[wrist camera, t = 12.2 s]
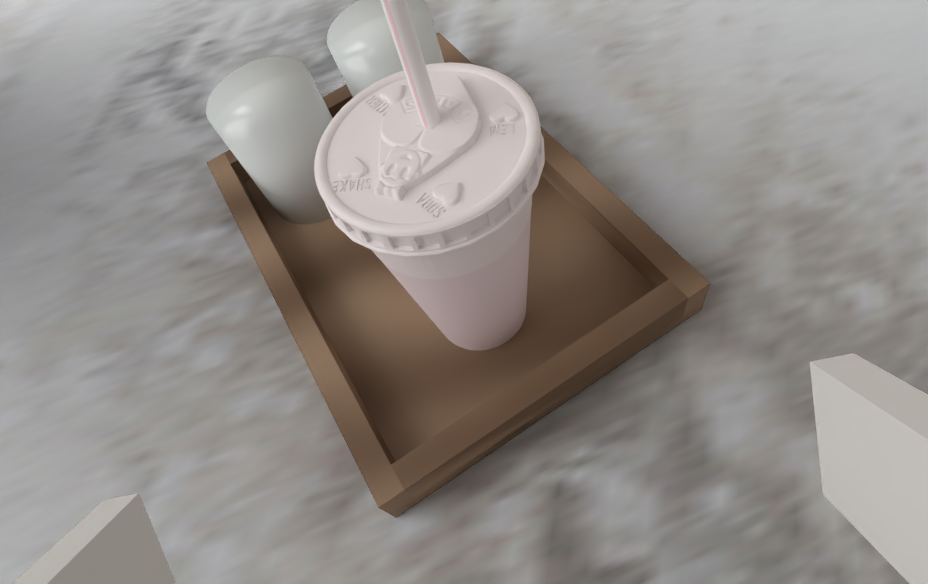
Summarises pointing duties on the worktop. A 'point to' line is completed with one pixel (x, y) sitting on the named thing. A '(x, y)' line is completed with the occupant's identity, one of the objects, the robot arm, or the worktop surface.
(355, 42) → the white domed cylinder
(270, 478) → the worktop surface
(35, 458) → the worktop surface
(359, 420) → the tray
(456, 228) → the smoothie
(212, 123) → the white rounded cylinder
